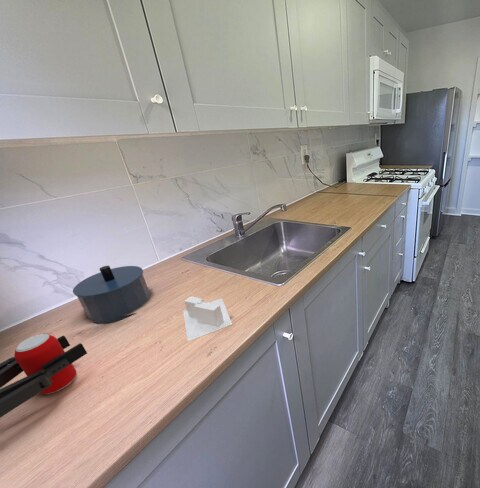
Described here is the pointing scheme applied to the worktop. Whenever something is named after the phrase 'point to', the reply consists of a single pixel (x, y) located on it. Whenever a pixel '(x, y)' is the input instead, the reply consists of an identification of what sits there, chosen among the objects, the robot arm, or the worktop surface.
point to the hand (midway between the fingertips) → (74, 344)
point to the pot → (116, 303)
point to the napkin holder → (204, 317)
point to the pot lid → (107, 281)
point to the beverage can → (43, 360)
